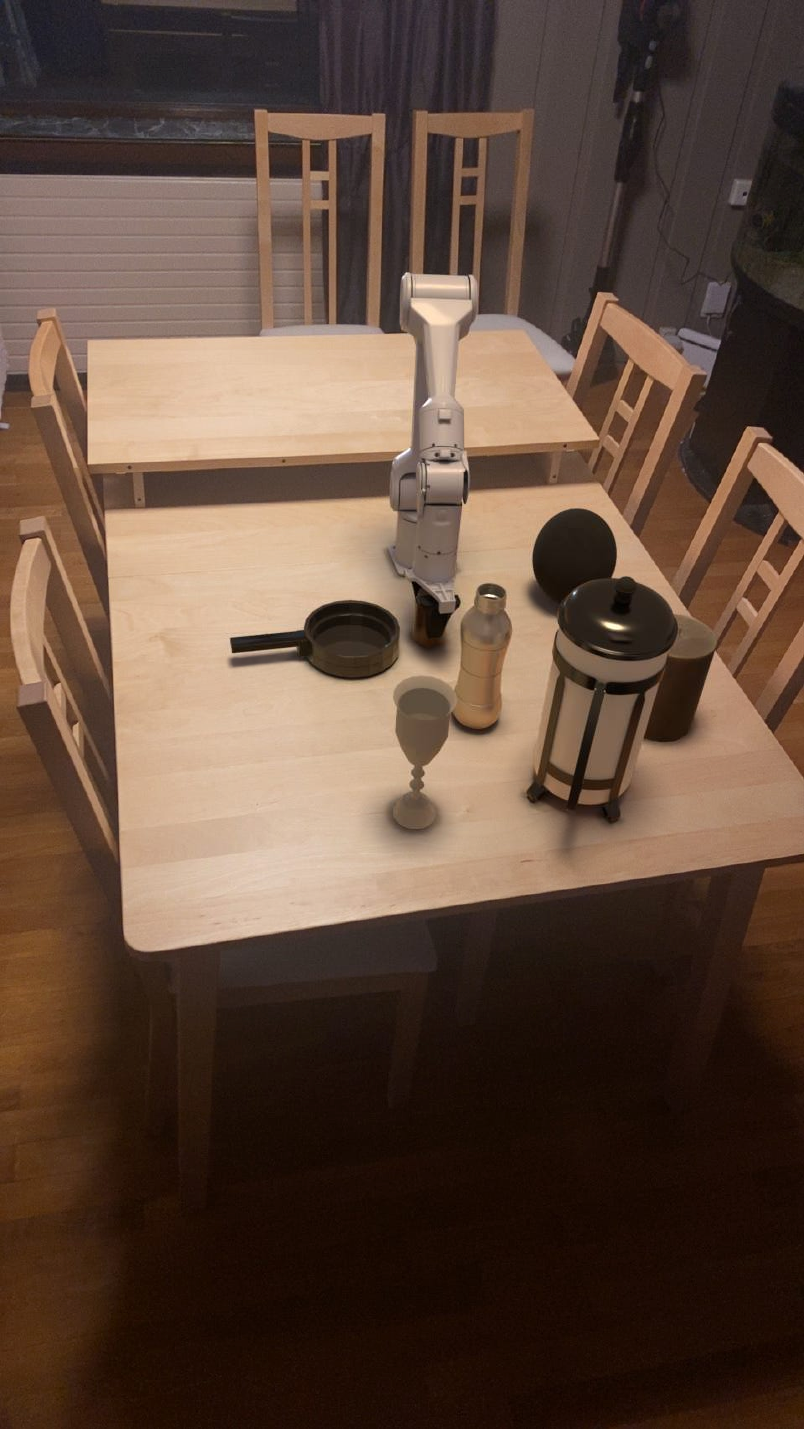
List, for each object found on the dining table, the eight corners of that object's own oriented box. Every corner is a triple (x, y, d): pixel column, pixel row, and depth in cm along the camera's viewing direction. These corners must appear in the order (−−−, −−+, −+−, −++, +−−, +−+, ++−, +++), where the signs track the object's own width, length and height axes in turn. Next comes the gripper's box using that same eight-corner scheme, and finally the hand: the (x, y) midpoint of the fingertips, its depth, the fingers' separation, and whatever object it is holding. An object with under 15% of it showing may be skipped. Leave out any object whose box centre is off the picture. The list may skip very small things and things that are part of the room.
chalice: (383, 791, 120) (390, 675, 108) (439, 790, 121) (452, 675, 109) (387, 837, 115) (395, 720, 103) (446, 835, 116) (460, 719, 104)
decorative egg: (622, 612, 151) (643, 526, 142) (553, 630, 147) (570, 542, 137) (577, 570, 160) (594, 485, 150) (510, 586, 155) (524, 500, 145)
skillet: (386, 618, 147) (387, 596, 144) (408, 674, 137) (409, 651, 135) (297, 627, 144) (297, 604, 142) (313, 685, 135) (313, 661, 132)
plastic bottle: (466, 741, 128) (483, 613, 115) (440, 709, 132) (454, 582, 119) (508, 727, 130) (530, 600, 117) (482, 696, 135) (500, 571, 122)
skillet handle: (306, 645, 140) (306, 629, 138) (309, 656, 138) (309, 640, 136) (230, 653, 138) (229, 636, 136) (233, 664, 136) (231, 648, 134)
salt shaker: (439, 627, 146) (443, 582, 141) (448, 646, 143) (452, 601, 138) (409, 630, 145) (412, 585, 140) (416, 649, 142) (420, 604, 137)
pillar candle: (685, 749, 129) (715, 658, 119) (611, 729, 131) (634, 637, 121) (696, 704, 136) (725, 614, 126) (625, 686, 138) (648, 596, 128)
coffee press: (490, 758, 126) (521, 554, 106) (598, 730, 131) (648, 530, 111) (558, 858, 114) (608, 649, 94) (674, 822, 119) (745, 617, 99)
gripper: (395, 517, 138) (390, 599, 147) (421, 575, 128) (414, 659, 136) (444, 514, 139) (436, 594, 148) (474, 571, 129) (464, 654, 138)
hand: (429, 625), depth 143 cm, fingers closed on salt shaker, 4 cm apart
